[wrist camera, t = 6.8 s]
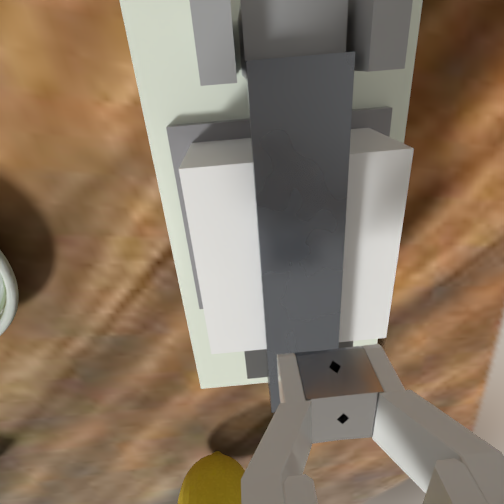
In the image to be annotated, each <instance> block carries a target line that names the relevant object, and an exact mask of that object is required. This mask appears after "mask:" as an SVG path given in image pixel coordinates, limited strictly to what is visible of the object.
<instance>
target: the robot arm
mask: <svg viewBox="0 0 504 504" xmlns="http://www.w3.org/2000/svg"><path fill="white" fill-rule="evenodd" d="M277 369H278V384H279V395H280V404H279V406H278V408H277V410H276V412H275V414H274V415H273V417H272V419H271V421H270V423H269V425H268V427H267V429H266V431H265V433H264V435H263V437H262V439H261V441H260V443H259V445H258V447H257V449H256V451H255V453H254V455H253V457H252V459H251V461H250V463H249V465H248V466H247V468H246V470H245V472H244V474H243V476H242V478H241V504H318V501H317V496H316V491H315V486H314V482H313V479H311V478H310V477H309V476H307V475H306V474H304V475H302V473H303V470H304V467H305V464H306V461H307V458H308V455H309V452H310V449H311V446H312V444H313V443H320V442H327V441H335V440H343V439H356V438H368V437H373V438H372V439H373V440H374V441H375V442H376V443H377V444H378V445H379V446H380V447H381V448H382V449H383V450H384V451H385V452H386V453H387V454H388V455H389V456H390V457H391V458H392V459H393V461H394V462H395V463H396V464H397V465H398V466H399V467H400V468H401V469H402V470H403V471H404V472H405V473H406V474H407V475H408V476H409V477H410V478H411V479H412V480H413V481H414V482H415V483H416V484H417V485H418V486H419V487H420V488H421V489H422V490H423V491H424V492H425V493H426V495H425V498H424V501H423V504H504V456H503V454H502V453H501V452H500V451H499V450H497V449H496V448H494V447H493V446H491V445H490V444H488V443H487V442H486V441H484V440H483V439H481V438H480V437H478V436H477V435H476V434H474V433H473V432H471V431H470V430H468V429H467V428H465V427H464V426H463V425H461V424H460V423H458V422H457V421H455V420H454V419H452V418H451V417H449V416H448V415H447V414H445V413H444V412H442V411H441V410H439V409H438V408H436V407H435V406H434V405H432V404H431V403H429V402H428V401H426V400H425V399H423V398H422V397H421V396H419V395H418V394H416V393H415V392H413V391H412V390H405V389H404V387H403V385H402V383H401V381H400V379H399V378H398V376H397V374H396V372H395V370H394V368H393V366H392V365H391V363H390V361H389V359H388V357H387V355H386V353H385V352H384V350H383V348H382V346H381V345H379V344H373V345H364V346H354V347H346V348H337V349H328V350H321V351H308V352H296V353H287V354H277Z"/></svg>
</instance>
